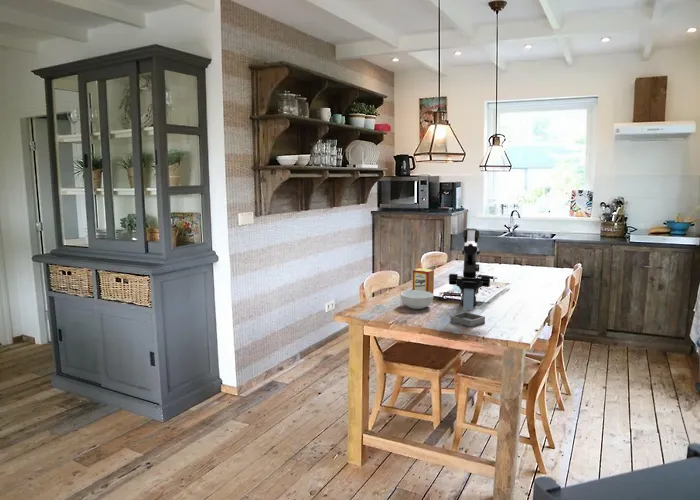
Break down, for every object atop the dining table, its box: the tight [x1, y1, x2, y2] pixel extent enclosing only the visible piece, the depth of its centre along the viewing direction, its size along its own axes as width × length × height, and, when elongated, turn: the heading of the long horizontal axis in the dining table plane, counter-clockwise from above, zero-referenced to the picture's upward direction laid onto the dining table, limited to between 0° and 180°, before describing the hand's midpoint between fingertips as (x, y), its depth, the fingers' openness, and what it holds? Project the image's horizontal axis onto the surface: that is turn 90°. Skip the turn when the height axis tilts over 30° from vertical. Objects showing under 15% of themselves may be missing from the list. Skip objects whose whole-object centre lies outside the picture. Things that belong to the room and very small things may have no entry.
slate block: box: [462, 289, 474, 311], centre depth 244 cm, size 4×4×9 cm
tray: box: [449, 311, 486, 328], centre depth 246 cm, size 11×11×3 cm
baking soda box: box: [412, 267, 435, 295], centre depth 291 cm, size 10×6×16 cm
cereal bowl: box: [400, 289, 434, 310], centre depth 273 cm, size 17×17×7 cm
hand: (468, 295), depth 243 cm, fingers closed on slate block, 4 cm apart
